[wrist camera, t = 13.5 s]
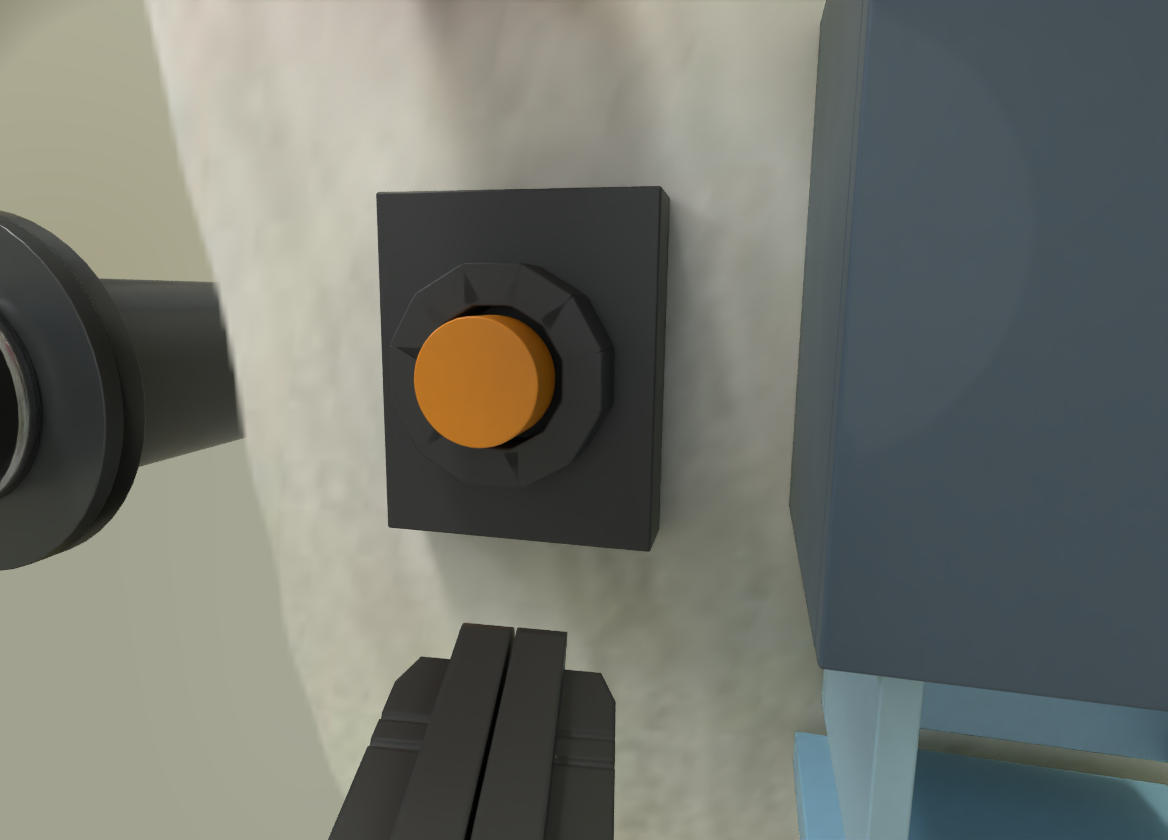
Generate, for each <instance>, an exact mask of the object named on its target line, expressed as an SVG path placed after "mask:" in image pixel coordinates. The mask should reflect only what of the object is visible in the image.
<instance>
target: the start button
mask: <svg viewBox="0 0 1168 840" xmlns="http://www.w3.org/2000/svg"><path fill="white" fill-rule="evenodd" d="M414 387H415V393H416V398H417V401H418V403H419V406H420V408H421V410H422V412H423V414H424V416H425V417H426V419H427V420H428V422H429V423H430V424H431V425H432V427H433V428H434V429H435V430H436V431H438V432H439V433H440V434H441V435H443V436H444V437H445V438H447V439H449V440H450V441H452V442H454V443H457V444H459V445H462V446H466V447H471V448H489V447H494V446H497V445H500V444H503V443H505V442H507V441H509V440H511V439H512V438H514V437H516V436H517V435H519V434H521V433H523V432H524V431H526V430H528V429H529V428H531V427H532V426H533V425H535V424H536V423H537V422H538V421H539V420H540V419H541V418H542V417H543V415H544V414H545V412H546V411H547V409H548V407H549V405H550V403H551V400H552V397H553V394H554V389H555V369H554V363H553V360H552V357H551V354H550V352H549V350H548V348H547V346H546V344H545V343H544V341H543V340H542V339H541V337H540V336H539V335H538V334H537V333H536V332H535V331H534V330H533V329H532V328H530V327H529V326H528V325H526V324H525V323H523V322H521V321H519V320H517V319H514V318H512V317H508V316H504V315H482V316H466V317H461V318H457V319H454V320H451V321H449V322H447V323H445V324H443V325H442V326H440V327H439V328H437V329H436V330H435V331H434V332H433V333H432V334H431V335H430V336H429V337H428V339H427V340H426V341H425V343H424V344H423V346H422V348H421V350H420V352H419V355H418V357H417V361H416V364H415V371H414Z"/></svg>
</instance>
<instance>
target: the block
mask: <svg viewBox="0 0 1168 840" xmlns="http://www.w3.org/2000/svg"><path fill="white" fill-rule="evenodd" d="M376 198H377V225H378V253H379V281H380V309H381V337H382V365H383V393H384V421H385V448H386V476H387V504H388V526H389V527H391V528H401V529H412V530H422V531H433V532H444V533H454V534H465V535H476V536H486V537H497V538H508V539H518V540H529V541H540V542H550V543H561V544H572V545H582V546H593V547H604V548H614V549H625V550H636V551H646V552H649V551H650V550H651V547H652V545H653V542H654V540H655V537H656V535H657V533H658V530H659V510H660V480H661V449H662V418H663V388H664V357H665V327H666V296H667V266H668V235H669V204H670V198H669V196H668V195H667V194H666V192H665V191H664V190H663V189H662V188H661V187H660V186H640V187H595V188H549V189H504V190H458V191H412V192H378V193H377V194H376ZM482 315H504V316H508V317H512V318H514V319H517V320H519V321H521V322H523V323H525V324H526V325H528V326H529V327H530V328H532V329H533V330H534V331H535V332H536V333H537V334H538V335H539V336H540V337H541V339H542V340H543V341H544V343H545V344H546V346H547V348H548V350H549V352H550V354H551V357H552V360H553V363H554V369H555V389H554V394H553V397H552V400H551V403H550V405H549V407H548V409H547V411H546V412H545V414H544V415H543V417H542V418H541V419H540V420H539V421H538V422H537V423H536V424H535V425H533V426H532V427H531V428H529V429H528V430H526V431H524V432H523V433H521V434H519V435H517V436H516V437H514V438H512V439H511V440H509V441H507V442H505V443H503V444H500V445H497V446H494V447H489V448H471V447H466V446H462V445H459V444H457V443H454V442H452V441H450V440H449V439H447V438H445V437H444V436H443V435H441V434H440V433H439V432H438V431H436V430H435V429H434V428H433V427H432V425H431V424H430V423H429V422H428V420H427V419H426V417H425V416H424V414H423V412H422V410H421V408H420V406H419V403H418V401H417V398H416V393H415V387H414V371H415V364H416V361H417V357H418V355H419V352H420V350H421V348H422V346H423V344H424V343H425V341H426V340H427V339H428V337H429V336H430V335H431V334H432V333H433V332H434V331H435V330H436V329H437V328H439V327H440V326H442V325H443V324H445V323H447V322H449V321H451V320H454V319H457V318H461V317H466V316H482Z"/></svg>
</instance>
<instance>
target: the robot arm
mask: <svg viewBox="0 0 1168 840" xmlns="http://www.w3.org/2000/svg"><path fill="white" fill-rule="evenodd" d="M41 427H42V406H41V396H40V390H39V385H38V381H37V377H36V374H35V371H34V368H33V365H32V362H31V360H30V357H29V355H28V353H27V351H26V349H25V347H24V345H23V343H22V341H21V339H20V338H19V336H18V334H17V333H16V331H15V330H14V328H13V327H12V326H11V324H10V323H9V322H8V320H7V319H6V318H5V317H4V316H3V315H2V313H1V312H0V498H1V497H3V496H5V495H6V494H8V493H9V492H10V491H12V490H13V489H14V488H15V487H16V486H17V485H18V484H19V483H20V482H21V481H22V480H23V478H24V477H25V476H26V474H27V472H28V471H29V469H30V467H31V465H32V463H33V461H34V458H35V456H36V453H37V450H38V446H39V442H40V436H41ZM566 647H567V632H561V631H550V630H539V629H528V628H517V631H516V635H515V630H514V627H504V626H493V625H482V624H471V623H463V625H462V627H461V629H460V632H459V635H458V638H457V641H456V644H455V647H454V650H453V653H452V656H451V659H441V658H430V657H420V658H419V659H418V660H417V661H416V662H415V663H414V664H413V665H412V666H411V667H410V668H409V669H408V670H407V671H406V672H405V673H404V674H403V675H402V676H401V677H399V678H398V679H397V680H396V681H395V683H394V686H393V688H392V690H391V693H390V695H389V697H388V700H387V702H386V704H385V707H384V709H383V712H382V717H381V719H379V721H378V723H377V726H376V728H375V730H374V733H373V735H372V737H371V742H370V746H368V747H367V749H366V752H365V754H364V756H363V759H362V761H361V763H360V766H359V768H358V770H357V773H356V775H355V778H354V780H353V782H352V785H351V787H350V789H349V792H348V794H347V796H346V799H345V801H344V803H343V806H342V808H341V810H340V813H339V815H338V818H337V820H336V822H335V825H334V827H333V829H332V832H331V834H330V836H329V839H328V840H614V780H615V769H614V765H615V704H616V702H615V700H614V698H613V696H612V694H611V692H610V690H609V688H608V686H607V684H606V682H605V680H604V678H603V676H602V674H601V673H595V672H584V671H573V670H565V660H566Z"/></svg>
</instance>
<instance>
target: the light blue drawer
mask: <svg viewBox="0 0 1168 840" xmlns="http://www.w3.org/2000/svg"><path fill="white" fill-rule="evenodd" d="M821 702H822V708H823V713H824V719H825V725H826V731H827V736H825V735H818V734H811V733H804V732H796V733H795V741H794V755H793V768H794V779H795V790H796V802H797V813H798V824H799V835H800V840H1168V785H1166V784H1159V783H1152V782H1145V781H1138V780H1131V779H1124V778H1117V777H1110V776H1103V775H1096V774H1089V773H1082V772H1075V771H1068V770H1061V769H1055V768H1048V767H1041V766H1034V765H1027V764H1020V763H1013V762H1006V761H999V760H992V759H985V758H978V757H971V756H964V755H957V754H950V753H943V752H936V751H929V750H922V749H918V741H919V731H920V728H922V729H929V730H936V731H944V732H951V733H958V734H965V735H973V736H980V737H987V738H994V739H1002V740H1009V741H1016V742H1023V743H1031V744H1038V745H1045V746H1052V747H1060V748H1067V749H1074V750H1081V751H1089V752H1096V753H1103V754H1110V755H1118V756H1125V757H1132V758H1139V759H1147V760H1154V761H1161V762H1168V712H1165V711H1157V710H1149V709H1141V708H1133V707H1125V706H1117V705H1109V704H1101V703H1093V702H1084V701H1076V700H1068V699H1060V698H1052V697H1044V696H1036V695H1028V694H1020V693H1012V692H1004V691H996V690H988V689H980V688H972V687H964V686H956V685H947V684H939V683H931V682H923V681H915V680H907V679H899V678H891V677H883V676H875V675H867V674H859V673H851V672H843V671H835V670H827V669H824V673H823V686H822V699H821Z"/></svg>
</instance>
